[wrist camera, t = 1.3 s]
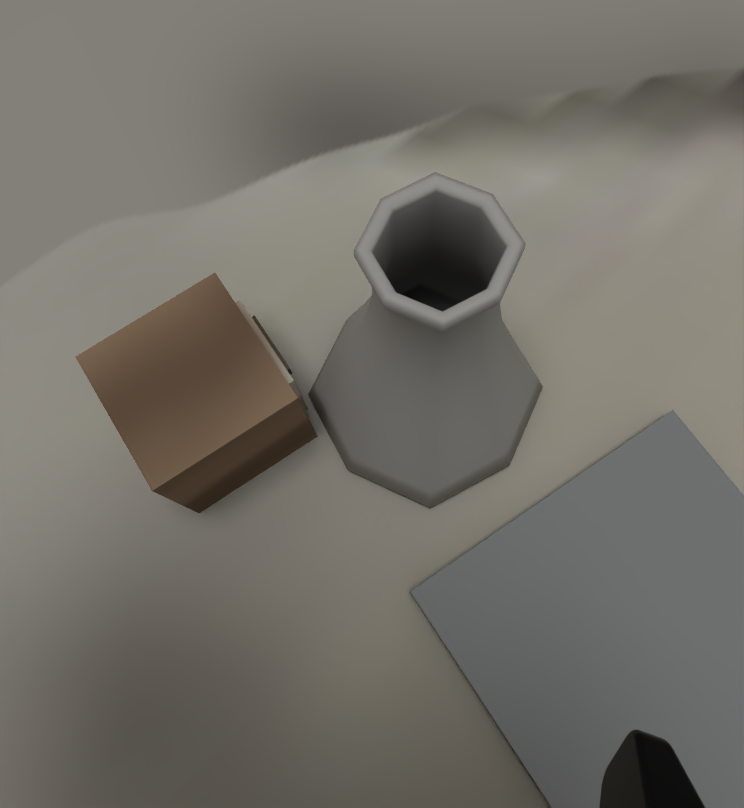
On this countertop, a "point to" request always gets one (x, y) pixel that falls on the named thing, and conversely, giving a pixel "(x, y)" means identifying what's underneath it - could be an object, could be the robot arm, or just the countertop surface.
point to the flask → (430, 346)
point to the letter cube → (199, 395)
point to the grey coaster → (610, 619)
